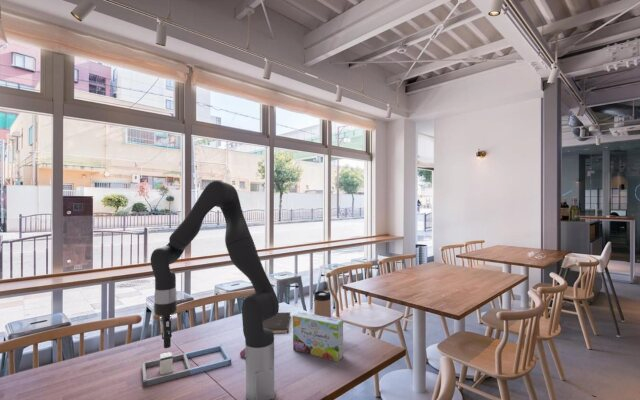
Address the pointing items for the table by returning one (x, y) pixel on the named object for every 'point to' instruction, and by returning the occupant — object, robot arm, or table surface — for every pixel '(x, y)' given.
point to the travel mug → (322, 304)
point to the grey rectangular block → (166, 363)
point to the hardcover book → (278, 323)
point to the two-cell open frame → (188, 369)
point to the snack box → (318, 335)
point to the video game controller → (243, 353)
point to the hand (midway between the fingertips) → (166, 343)
